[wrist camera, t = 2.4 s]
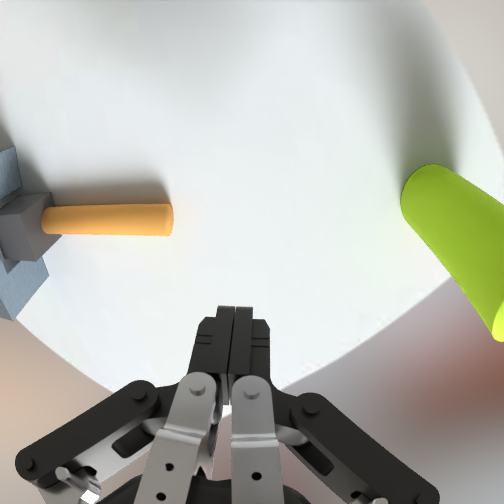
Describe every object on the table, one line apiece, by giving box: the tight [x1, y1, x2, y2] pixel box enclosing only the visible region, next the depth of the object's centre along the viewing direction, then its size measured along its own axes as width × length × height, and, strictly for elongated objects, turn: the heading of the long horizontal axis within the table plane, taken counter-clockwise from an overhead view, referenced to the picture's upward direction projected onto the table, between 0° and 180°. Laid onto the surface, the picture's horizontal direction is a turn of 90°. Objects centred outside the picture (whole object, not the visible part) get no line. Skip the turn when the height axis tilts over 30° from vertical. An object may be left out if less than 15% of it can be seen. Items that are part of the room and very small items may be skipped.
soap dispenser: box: [401, 164, 504, 342], centre depth 12 cm, size 6×7×20 cm
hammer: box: [0, 192, 173, 262], centre depth 20 cm, size 4×17×4 cm, turn 89°
